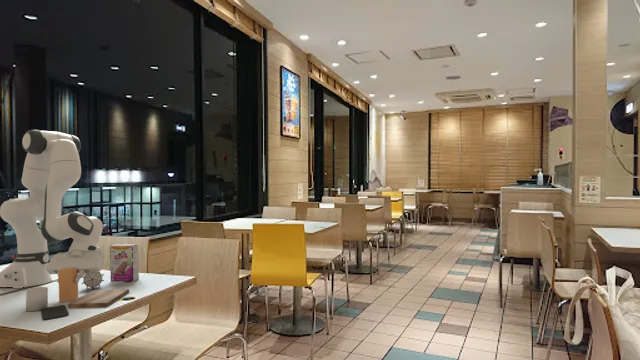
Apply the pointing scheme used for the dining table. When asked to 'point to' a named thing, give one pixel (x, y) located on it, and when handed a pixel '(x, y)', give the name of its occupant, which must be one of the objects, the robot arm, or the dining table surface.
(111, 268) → the candy bar box
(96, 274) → the spiked faceted ball
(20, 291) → the dining table surface
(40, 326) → the dining table surface
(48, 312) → the phone
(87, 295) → the walnut board
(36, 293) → the white rounded cube
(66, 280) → the orange block
